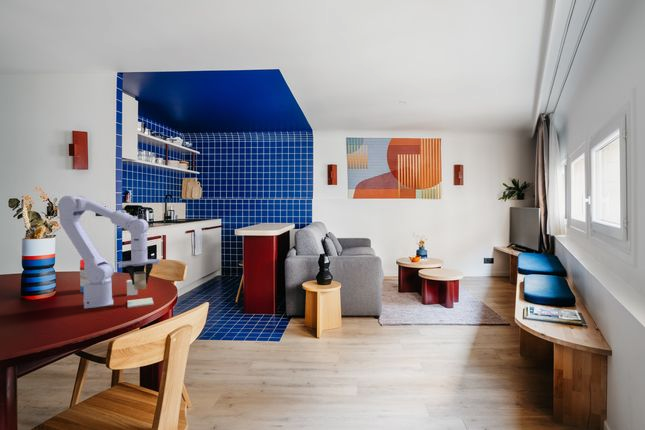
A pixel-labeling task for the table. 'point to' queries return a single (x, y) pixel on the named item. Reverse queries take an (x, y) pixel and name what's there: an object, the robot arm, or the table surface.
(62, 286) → the table surface
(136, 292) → the grey block
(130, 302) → the sage pad
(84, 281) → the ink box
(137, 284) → the labelled block
